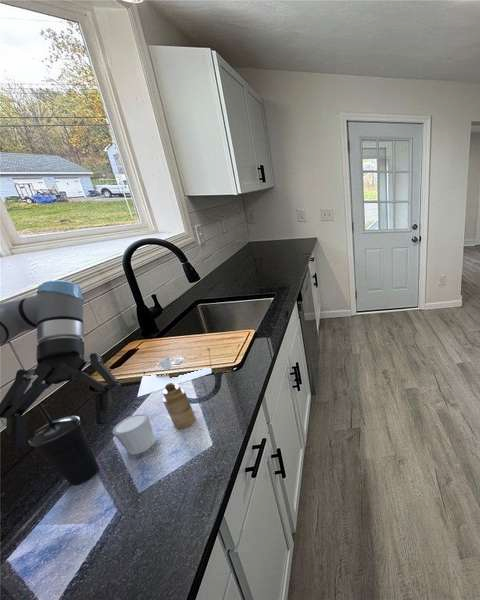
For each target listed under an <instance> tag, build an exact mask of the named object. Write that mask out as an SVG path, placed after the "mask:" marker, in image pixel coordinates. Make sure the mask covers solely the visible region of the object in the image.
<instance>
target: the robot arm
mask: <svg viewBox="0 0 480 600" xmlns="http://www.w3.org/2000/svg"><path fill="white" fill-rule="evenodd" d="M84 303H85V300H84V298H83V289H82V287H81V286H80V285H78V284H77V283H75V282H72V281H69V280H62V279H61V280H60V279H59V280H58V279H57V280H56V279H55V280H47V281H44V282H42V283H41V284H39V285H38V287H37V290H36V295H31V296H27V297H24V298H19V299H15V300H9V301H6V302H1V303H0V346H2V345H4V344H5V343H7V342H8V341H10V340H12V339H13V338H15V337H17V336H18V335H20V334H22V333H25V332H28V331H31V330H35V329H36V343H37V345H36V356H35V357H36V363H37V365H36V367H35V368H33V369H27V370H26V369H22V368H20V369H18V370H17V371H16V375H15V378H14V381H13V383H12V384H11V385H10V387H9V389H8V390H7V392H6V394H5V395H4V396H3V398H2V399H1V401H0V419H5V420H6V422H5V433H6V434H7V435H10V446H9V447H10V450H22V449H23V450H24V449H26V448H27V430H28V429H27V427H28V425H27V424H28V416H27V415H24V414H25V413H26V412H27V410H29V408H30V407H31V406H32V405H33V404H34V403H35V402H36V401H37V399H38V398H39V397H40V396H42V394H43V393H44V392H45V390H48V389H49V388H50V387H51V386H52V385H58V384H61V383H64V382H71V381H74V380H75V379H79V380H80V381H82V382H84V383H85V384H87V385H88V386H90V387H91V388H93V389H95V390H96V391H98V392H99V393H95V394H94V399H95V400H94V401H95V418H96V419H95V424H96V425H103V426H105V425H108V423H109V421H108V409H109V408H111V407H112V404H113V403H112V392H114V391H115V390H118V389H120V388H121V387H122V384H121V383H120V381H119V380H118V379H117V377H115V375H113V373H112V372H111V371H110V369H109V368H108V366H106V365H105V364H104V359H103V356H102V355H100V354H97V353H95V352H92V353H90V354H89V356H86V357H85V342H84V339H85V333H84V331H85V330H84ZM87 364H88V365H89V366H92V367H93V368H94V370H95V371H96V372H97V373H98V374H99V376H100V377H101V378H102V379H103V381H104V382H105V383H106V384H107V385H105V384H104V383H102V382H100V381H99V380H98V379H96V378H95V377H92V376H91V375H90V374H88V373H86V372H85V371H83V369H84V368H85V367H86V365H87ZM35 377H36V378H35ZM32 380H33V381H32ZM30 384H31V386H30Z"/></svg>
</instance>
